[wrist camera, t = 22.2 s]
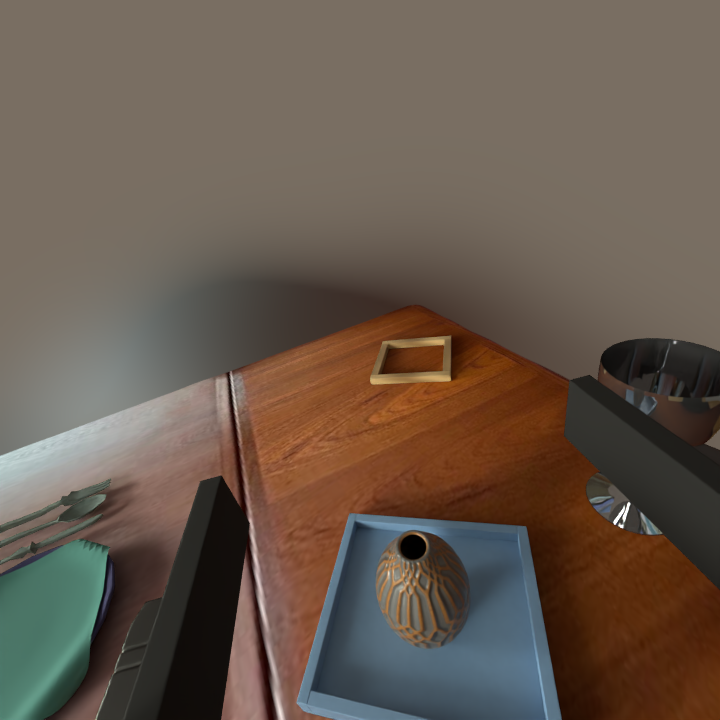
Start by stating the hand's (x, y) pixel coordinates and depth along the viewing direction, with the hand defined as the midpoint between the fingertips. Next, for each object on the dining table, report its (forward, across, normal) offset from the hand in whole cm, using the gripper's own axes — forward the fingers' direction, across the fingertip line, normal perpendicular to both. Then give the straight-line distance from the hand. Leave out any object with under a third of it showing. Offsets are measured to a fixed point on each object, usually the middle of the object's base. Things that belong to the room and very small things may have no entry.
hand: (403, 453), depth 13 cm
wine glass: (+9, +21, -23) cm, 32 cm away
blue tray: (+5, 0, -22) cm, 23 cm away
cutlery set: (+15, -40, -22) cm, 48 cm away
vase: (+5, 0, -22) cm, 23 cm away
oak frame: (+43, +10, -23) cm, 49 cm away
